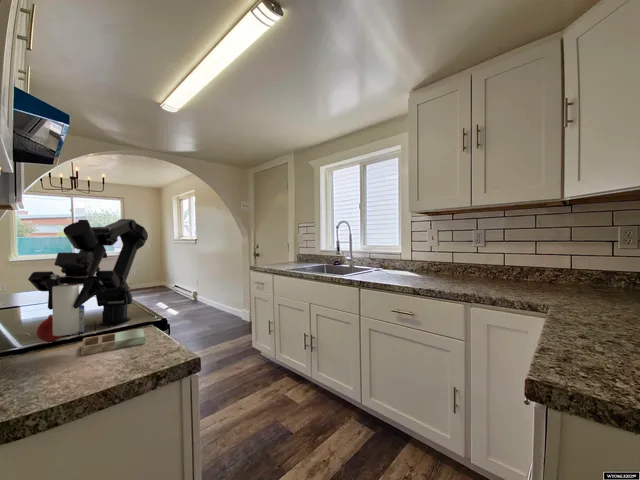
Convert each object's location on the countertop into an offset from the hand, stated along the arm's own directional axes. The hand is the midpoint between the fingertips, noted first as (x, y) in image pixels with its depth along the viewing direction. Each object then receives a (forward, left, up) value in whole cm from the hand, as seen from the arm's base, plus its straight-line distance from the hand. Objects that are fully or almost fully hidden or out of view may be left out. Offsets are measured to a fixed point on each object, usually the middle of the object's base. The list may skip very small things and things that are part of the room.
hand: (62, 308), depth 69 cm
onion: (-6, -12, -12) cm, 18 cm away
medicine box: (-14, -16, -12) cm, 24 cm away
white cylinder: (-1, -1, -7) cm, 7 cm away
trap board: (-9, +6, -12) cm, 16 cm away
